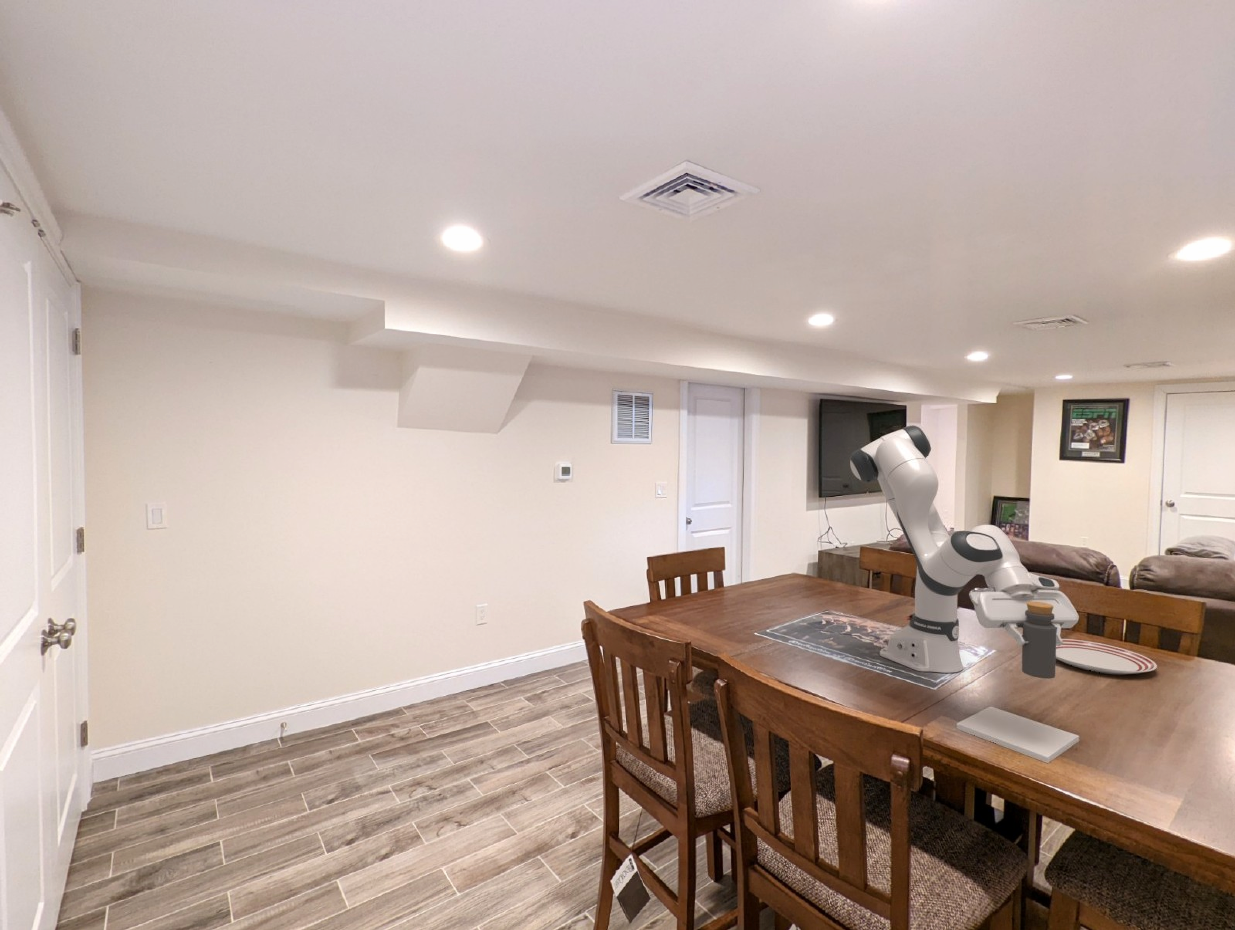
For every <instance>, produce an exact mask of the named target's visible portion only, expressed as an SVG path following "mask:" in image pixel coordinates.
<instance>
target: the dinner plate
mask: <svg viewBox="0 0 1235 930" xmlns="http://www.w3.org/2000/svg"><path fill="white" fill-rule="evenodd" d="M1061 639H1062V641H1063V644H1062V645H1061V646H1056V660H1058V661H1060V662H1062V663H1064V664H1066V665H1069V666H1071V665H1072V667H1075V668H1077V667H1078V669H1082V670H1086V671H1089V670H1091V671H1090V672H1094V671H1095V673H1099V672H1100V673H1101V674H1109V675H1130V674H1131V675H1132V674H1141V673H1142V674H1143V673H1147V672H1152V671H1155V670H1157V668H1158V665H1157V663H1156V662H1155V661H1154V660H1152V659H1150V658H1148V657H1147V656H1144V655H1143V654H1140V653H1137V652H1134V651H1132V650H1129V649H1125V648H1122V647H1117V646H1114V645H1109V644H1105V643H1100V642H1096V641H1095V642H1094V641H1087V640H1081V639H1080V640H1079V639H1070V638H1061Z"/></svg>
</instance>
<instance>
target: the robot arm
mask: <svg viewBox="0 0 1235 930" xmlns="http://www.w3.org/2000/svg"><path fill="white" fill-rule="evenodd" d="M931 451H932V447H931V441H930V439H929V436H928V435H927V434H926V432H925V431H924V430H922V428H920V427H919V426H917V425H909V426H905V427H902V428H901V429H898V430H894V431H893V432H890V433H887V434H885V435H882V436H880V438H877V439H876V440H874V441H872V442H869V444H867V445H865V446H863V447H861V448H858V449H856V450H855V451H854V452H853V453H851V455H850V457H849V461H850V462H849V463H850V464H849V465H850V470H851V472H852V473H853V475H854V476H855V478H856V479H858V480H859V481H860V482H862V483H865V484H871V483H876V482H877V481H878V483H879V487H880V489H881V491H882V494H883V496H884V498H885V500H886V502H887V504H888V506H889V508H890V509H891V511H892V514H893V515H894V517H895V518H896V521H897V523H898V525H899V527H900V529H901V530H902V532H903V534H904V537H905V539H906V541H907V544H908V546H909V547H910V551H911V552H912V554H913V556H914V559H915V562H916V565H917V566H916V577H915V588H914V613H911V614H910V615H907V616H906V619H905V620H906V621H909V623H908V625H905V626H904V627H902V628H900V629H899V630H897V631H895V632H893V633H892V634H891V636H890V637H889V640H888V643H887V644H888V645H887V646H885V647H883V648H881V649H880V651H879V656H881V657H882V658H885V659H888V660H890V661H893V662H894V663H895V662H896V663H898V664H900V665H903V666H904V667H908V668H910V669H913V670H915V671H917V672H933V673H944V674H945V673H946V674H947V673H951V674H952V673H958V672H961V671H963V669H964V666H963V663H962V660H961V654H960V648H959V647H960V646H959V637H960V635H959V634H960V625H959V623H960V621H959V618H958V594H959V593H960V592H961V591H962V590H963V588H964V587H965V586H966V585H967V584H968V582H970V580H972V579H973V578H974V577H975V576H977V575H982V576H983V577H984V581H985V583H986V586H987V587H981V588H980V587H975V588H974V587H973V589H971V590H970V591H969V593H968V596H969V598H970V600H971V603H972V604H973V606H974V607H973V608H974V612H975V614H976V619H977V620H978V623H979V625H980V626H982V627H983V628H985V629H1004V630H1005V632H1006V633H1007V634H1008V635H1009V636H1010V637H1012V638H1013V639H1014V640H1015V641H1016V643H1017V645H1018V646H1019V647H1022V646H1026V645H1028V644H1029V641H1028V639H1027V638H1026V636H1025V635H1023V633H1021V632H1020V631H1019V630H1018V629H1023V622H1025V621H1027V620H1028V617H1027V616H1026V615H1025V611H1026V610H1028V608H1027V602H1043V603H1048V604H1051V605H1053V606H1054V607H1053V610H1052V613H1053V614H1054V620H1051V623H1052V624H1053V625H1055V627H1056V646H1061V645H1062V644H1063V641H1062V639H1063V638H1061V631H1062V629H1071V628H1073V627H1074V626H1075V625H1076V624H1078V621H1079V620H1080V616H1079V614H1078V613H1079V612H1077V610H1076V608H1075V607H1074V605H1073V604H1072V602H1071V600H1070V599H1069V597H1068V596H1067V595H1066V594H1065V593H1064V592H1063V591H1061V590H1059V589H1060V584H1059V582H1058V581H1057V580H1055V579H1053V578H1048V577H1044V576H1039V575H1038V574H1034V573H1031V572H1029V571H1028V569H1027V568H1026V567H1025V566H1024V565H1023V564H1022V562H1021V558H1020V554H1019V552H1018V551H1017V549H1016V548H1015V546H1014V543H1012V541H1011V539H1010V538H1009V536H1008V535H1007V534H1006V533H1005V532H1004V531H1003V530H1002V529H1001V528H999V527H998V526H996V525H993V524H981V525H977V526H974V527H973V528H971V529H970V530H957V531H955V532H953V533H952V534H951V535H949V532H948V531H947V529H946V527H945V525H944V523H943V521H942V519H941V516H940V514H939V512H938V510H937V507H936V506H935V504H934V502H935V498H936V496H937V493H938V491H939V479H938V476H937V474H936V472H935V470H934V468H933V467H932V465H931V464H930V463H929V461H928V460H927V457H928V456H929V455H930V453H931Z"/></svg>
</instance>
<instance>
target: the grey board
mask: <svg viewBox="0 0 1235 930" xmlns="http://www.w3.org/2000/svg"><path fill="white" fill-rule="evenodd" d="M956 730H958V731H961V732H964V733H966V734H968V735H969V734H970V735H972V736H974V735H975V737H977V738H980V739H982V738H983V740H985V741H988V742H990V741H991V743H993V742H994V744H995V743H996V744H995V745H998V746H1001V747H1004V748H1007V749H1009V750H1011V751H1014V752H1017V753H1019V754H1022V755H1025V756H1027V757H1030V758H1033V759H1035V760H1039V761H1040V762H1044V763H1046V764H1049V763H1051V762H1052V761H1053V760H1055V759H1056V758H1057V757H1059V756H1060V755H1062V754H1063V753H1065V752H1066V751H1068V750H1069V749H1070V748H1071V747H1074V746H1075V745H1076V744H1077V743H1079V742H1080V735H1078V734H1075V733H1072V732H1069V731H1066V730H1062V729H1060V728H1056V727H1054V726H1051V725H1048V724H1045V723H1042V722H1039V721H1036V720H1034V719H1033V720H1032V719H1030V718H1027V717H1024V716H1021V715H1018V714H1015V713H1012V712H1009V711H1006V710H1002V709H999V708H997V707H994V706H988V707H986V708H984V709H982V710H980V711H979V712H976V713H975V714H973V715H970V716H968V717H966V718H965V719H963V720H960V721H959V722H957V723H956Z"/></svg>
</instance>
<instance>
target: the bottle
mask: <svg viewBox="0 0 1235 930" xmlns="http://www.w3.org/2000/svg"><path fill="white" fill-rule="evenodd" d="M1053 607H1054V606H1053V605H1051V604H1048V603H1043V602H1027V608H1028V610H1026V611H1025V615H1026V616H1027V617H1028V620H1027V621H1025V622H1023V628H1022V635H1025V636H1026V638H1027V639H1028V641H1029V644H1028V645H1026V646H1021V647H1022V648H1021V649H1022V650H1021V651H1022V652H1021V671H1022V672H1023V673H1024V674H1025V675H1028V676H1029V677H1034V678H1038V679H1045V680H1046V679H1049V680H1050V679H1054V678H1055V677H1056V661H1057V659H1056V627H1055V625H1053V624H1052V623H1051V620H1054V614H1053V613H1052V610H1053Z"/></svg>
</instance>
